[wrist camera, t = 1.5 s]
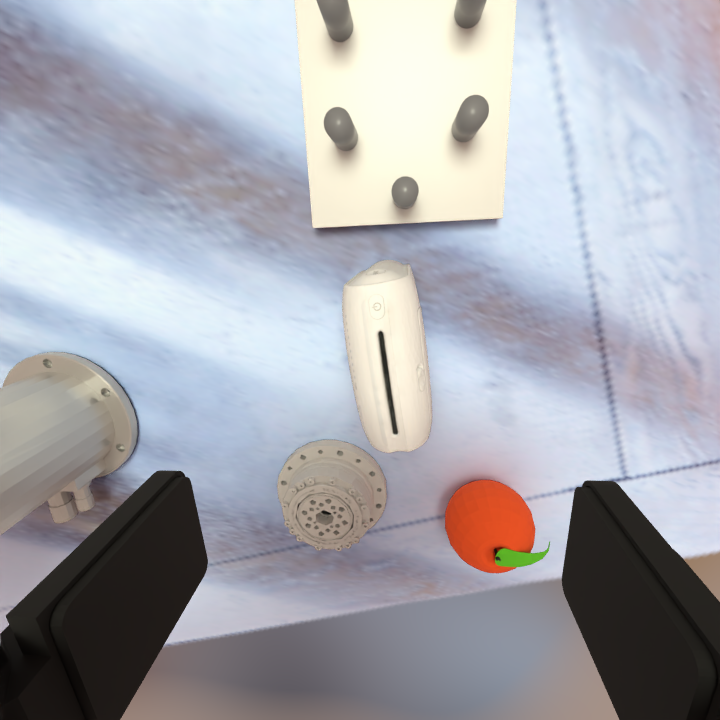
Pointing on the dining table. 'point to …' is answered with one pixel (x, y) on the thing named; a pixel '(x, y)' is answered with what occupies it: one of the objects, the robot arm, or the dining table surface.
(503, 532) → the clementine
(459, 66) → the pin tray
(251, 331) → the dining table surface
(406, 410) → the photo printer
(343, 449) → the mechanical component
